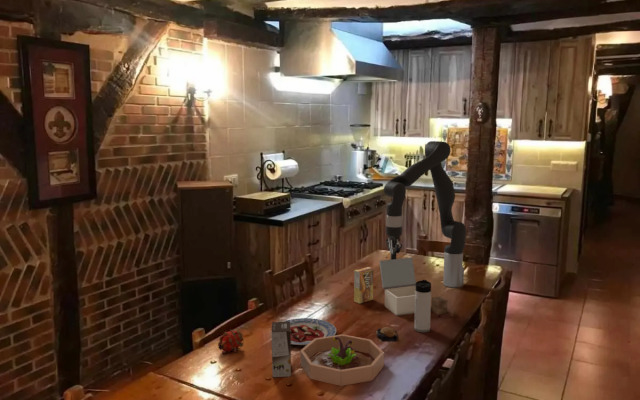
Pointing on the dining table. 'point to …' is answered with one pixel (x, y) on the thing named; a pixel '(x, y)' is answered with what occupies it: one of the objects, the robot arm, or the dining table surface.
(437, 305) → the walnut block
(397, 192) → the robot arm
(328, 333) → the ceramic plate
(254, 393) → the dining table surface
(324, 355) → the plant
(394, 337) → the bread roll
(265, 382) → the dining table surface
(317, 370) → the brown shallow octagonal piece
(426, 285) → the travel mug
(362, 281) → the candy box
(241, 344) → the dragon fruit
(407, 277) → the lid
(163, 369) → the dining table surface
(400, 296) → the chest
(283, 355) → the coffee box
